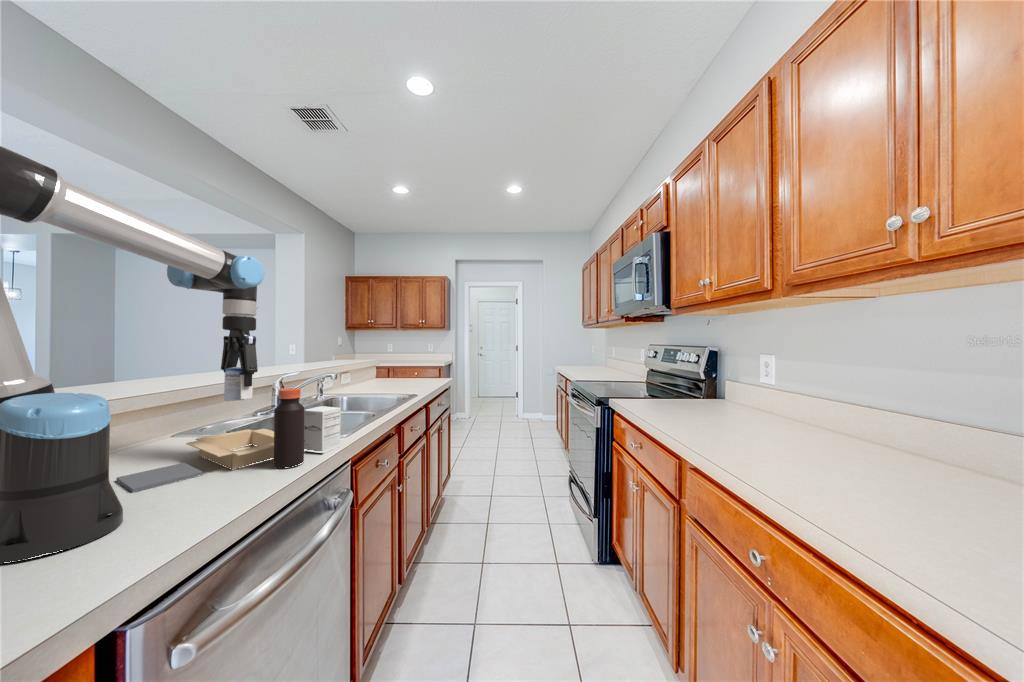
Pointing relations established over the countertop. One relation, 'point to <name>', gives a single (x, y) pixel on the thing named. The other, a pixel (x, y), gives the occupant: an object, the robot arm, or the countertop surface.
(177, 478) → the mat
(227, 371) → the medicine box
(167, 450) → the countertop surface
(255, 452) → the carton
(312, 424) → the supplement box
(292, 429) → the bottle
